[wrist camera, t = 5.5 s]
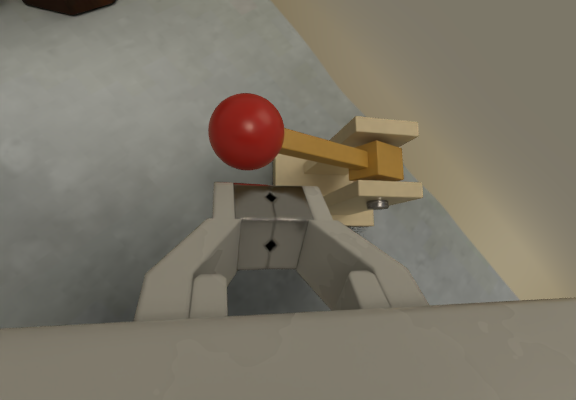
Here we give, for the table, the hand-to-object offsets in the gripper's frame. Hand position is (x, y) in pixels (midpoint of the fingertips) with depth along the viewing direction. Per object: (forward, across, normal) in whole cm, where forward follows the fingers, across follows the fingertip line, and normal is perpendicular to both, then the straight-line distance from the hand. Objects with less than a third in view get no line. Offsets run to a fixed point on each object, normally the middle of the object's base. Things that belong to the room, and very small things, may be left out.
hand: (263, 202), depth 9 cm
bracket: (+18, -9, +12) cm, 23 cm away
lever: (+9, -4, +3) cm, 11 cm away
